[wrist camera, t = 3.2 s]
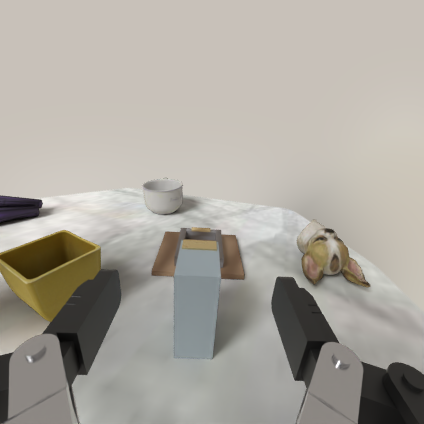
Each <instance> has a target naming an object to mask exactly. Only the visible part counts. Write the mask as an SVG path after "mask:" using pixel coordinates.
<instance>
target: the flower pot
mask: <svg viewBox="0 0 424 424" xmlns="http://www.w3.org/2000/svg"><path fill="white" fill-rule="evenodd" d="M100 270H101V247H100V246H99V245H96V244H94V243H92V242H89V241H87V240H85V239H83V238H81V237H79V236H77V235H75V234H73V233H71V232H69V231H66V230H62V231H59V232H56V233H53V234H51V235H48V236H45V237H43V238H40V239H37V240H34V241H32V242H29V243H26V244H23V245H21V246H18V247H15V248H13V249H10V250H7V251H4V252H2V253H0V272H1V274H2V275H3V277H4V279H5V280H6V282H7V284H8V285H9V287H10V288H11V289H12V291H13V292H14V293H15V294H16V295H17V296H18V297H19V298H20V299H21V300H23V301H24V302H25V303H26V304H28V305H29V306H30V307H31V308H33V309H34V310H35V311H36V312H37V313H38V314H40V315H41V316H42V317H43V318H44V319H46V320H47V321H49V322H52V320H53V319H54V318H55V316H56V315H57V314H58V312H59V311H60V310H61V308H62V307H63V306H64V305H65V304H66V302H67V301H68V299H69V298H70V297H71V295H72V294H73V293H74V291H75V290H76V289H77V287H78V286H80V285H81V284H82V283H84V282H85V281H87V280H88V279H89V280H93V279H94V278H95V276H96V275H97V273H98V272H99V271H100Z"/></svg>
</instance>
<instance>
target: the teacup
mask: <svg viewBox="0 0 424 424" xmlns="http://www.w3.org/2000/svg"><path fill="white" fill-rule="evenodd" d="M182 186H183V185H182V182H180V181H177V180H172V179H168V178H163V179H157V180H151V181H148V182H146V183H144V184H143V185H142V188H143V193H144V200H145V204H146V206H147V208H148V209H149V210H151V211H153V212H154V213H156V214H170V213H173V212H175V211H176V210H177V209H178V208H179V207H180V206H181V204H182V195H183V193H182Z"/></svg>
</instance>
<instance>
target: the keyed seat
mask: <svg viewBox="0 0 424 424" xmlns="http://www.w3.org/2000/svg"><path fill="white" fill-rule="evenodd" d="M183 239H184V240H203V241H216V242H218V245H219V258H220V271H221V278H222V279H244V271H243V267H242V262H241V258H240V253H239V249H238V244H237V240H236V235H221V230H210V228H194V227H192V229H190V228H181V231H180V232H165V235H164V238H163V241H162V243H161V246H160V249H159V252H158V255H157V257H156V260H155V263H154V266H153V268H152V275H155V276H174V273H175V268H176V263H177V259H178V254H179V249H180V245H181V240H183Z"/></svg>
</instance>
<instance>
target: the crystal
mask: <svg viewBox="0 0 424 424" xmlns="http://www.w3.org/2000/svg"><path fill="white" fill-rule="evenodd" d="M42 204H43V203H42V200H39V199H29V198H19V197H10V196H0V222H3V221H7V220H11V219H17V218H26V217H35V216H38V215H39V208H41V207H42Z"/></svg>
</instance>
